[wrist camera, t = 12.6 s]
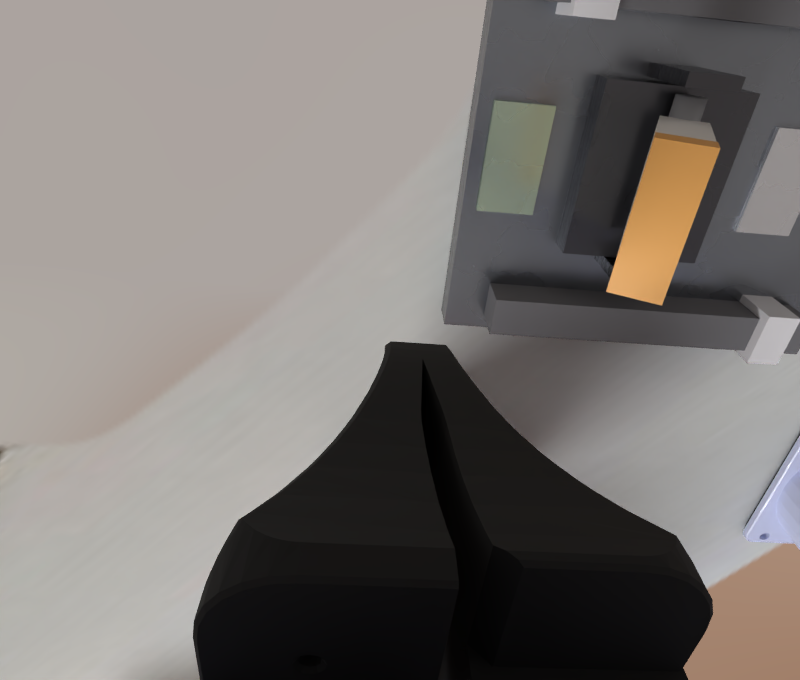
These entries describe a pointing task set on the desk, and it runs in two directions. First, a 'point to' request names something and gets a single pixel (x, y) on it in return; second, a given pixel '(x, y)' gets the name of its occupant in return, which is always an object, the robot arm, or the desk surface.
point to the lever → (665, 201)
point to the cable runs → (678, 316)
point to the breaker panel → (623, 153)
